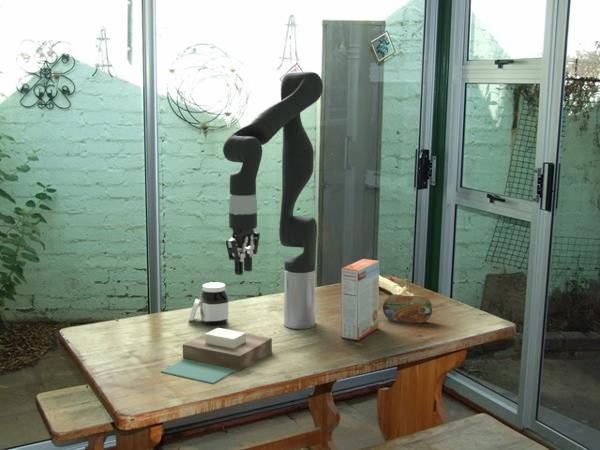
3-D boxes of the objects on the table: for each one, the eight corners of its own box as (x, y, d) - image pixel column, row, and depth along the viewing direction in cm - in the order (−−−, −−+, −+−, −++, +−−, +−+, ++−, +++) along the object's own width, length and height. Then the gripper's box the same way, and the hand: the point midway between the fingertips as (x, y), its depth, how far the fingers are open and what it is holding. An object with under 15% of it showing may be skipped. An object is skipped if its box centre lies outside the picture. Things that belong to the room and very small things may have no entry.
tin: (382, 320, 243) (382, 294, 242) (383, 317, 246) (384, 291, 245) (431, 324, 240) (432, 297, 238) (432, 321, 243) (433, 295, 241)
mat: (184, 360, 208) (184, 358, 208) (235, 370, 201) (235, 369, 201) (160, 372, 200) (160, 370, 200) (213, 383, 192) (213, 382, 192)
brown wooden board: (217, 341, 223) (216, 327, 222) (271, 352, 215) (271, 338, 214) (182, 358, 209) (182, 344, 208) (240, 370, 201) (239, 356, 200)
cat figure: (419, 304, 267) (377, 281, 288) (421, 279, 265) (379, 258, 286) (395, 307, 262) (354, 284, 283) (397, 283, 260) (356, 261, 281)
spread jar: (231, 325, 238) (231, 287, 236) (196, 329, 233) (195, 291, 231) (218, 314, 249) (218, 278, 247) (184, 318, 244) (183, 282, 242)
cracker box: (361, 325, 239) (362, 257, 235) (379, 328, 236) (380, 260, 232) (339, 337, 227) (340, 267, 223) (357, 341, 224) (359, 269, 220)
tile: (218, 336, 215) (217, 327, 214) (245, 341, 211) (245, 332, 210) (205, 342, 210) (205, 333, 209) (233, 348, 206) (233, 339, 205)
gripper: (245, 205, 220) (245, 265, 223) (216, 213, 207) (217, 276, 210) (268, 208, 216) (268, 269, 219) (240, 215, 204) (240, 280, 207)
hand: (243, 272), depth 215 cm, fingers open, 4 cm apart
